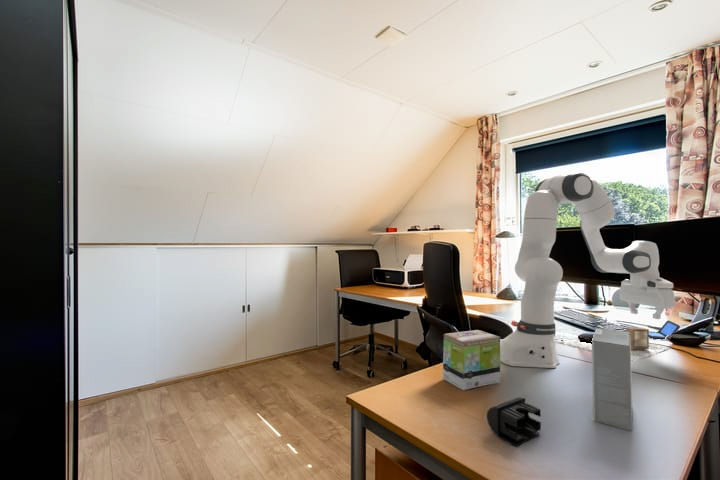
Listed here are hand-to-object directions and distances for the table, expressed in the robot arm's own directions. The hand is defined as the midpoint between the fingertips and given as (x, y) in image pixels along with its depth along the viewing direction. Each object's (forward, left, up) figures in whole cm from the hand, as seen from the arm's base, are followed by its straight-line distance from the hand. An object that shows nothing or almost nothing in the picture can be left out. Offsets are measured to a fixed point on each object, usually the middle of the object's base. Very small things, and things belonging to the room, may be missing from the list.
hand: (645, 316), depth 131 cm
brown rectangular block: (0, +3, -14) cm, 14 cm away
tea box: (-80, -22, -15) cm, 84 cm away
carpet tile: (-8, +15, -16) cm, 24 cm away
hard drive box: (-52, -44, -15) cm, 69 cm away
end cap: (-82, -51, -15) cm, 97 cm away
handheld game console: (+30, +22, -15) cm, 40 cm away
